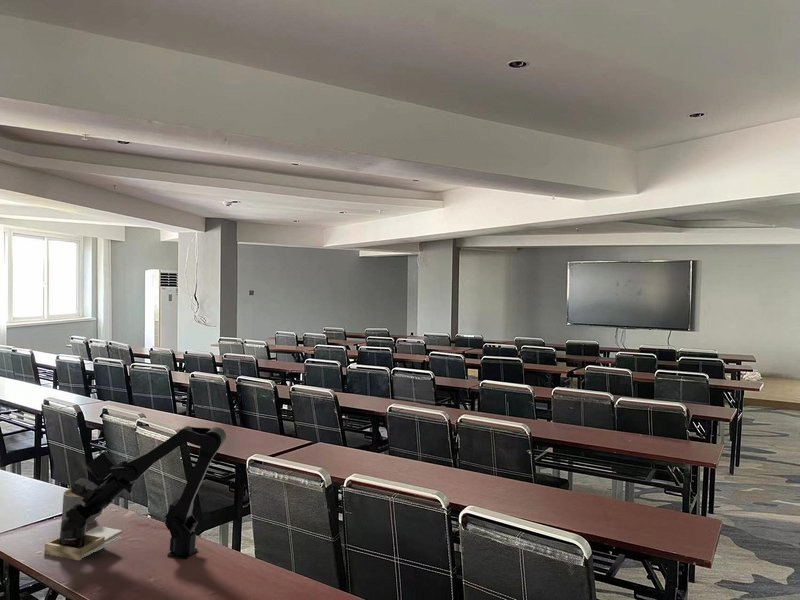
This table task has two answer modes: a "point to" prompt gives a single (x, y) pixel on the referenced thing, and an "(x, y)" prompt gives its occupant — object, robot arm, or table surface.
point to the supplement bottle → (72, 535)
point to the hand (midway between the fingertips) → (68, 525)
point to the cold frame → (70, 552)
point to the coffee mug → (71, 501)
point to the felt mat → (104, 532)
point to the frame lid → (101, 546)
